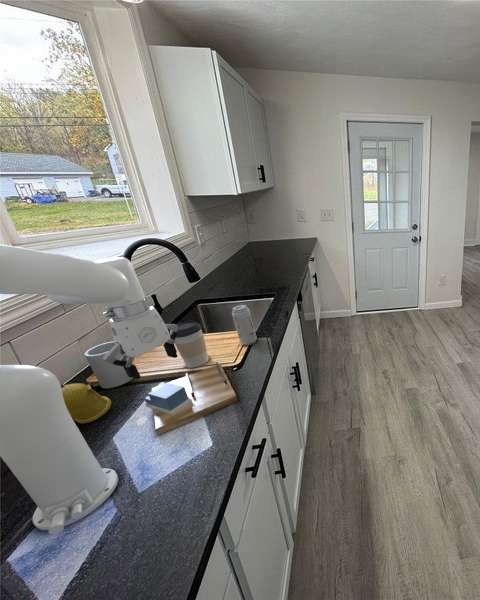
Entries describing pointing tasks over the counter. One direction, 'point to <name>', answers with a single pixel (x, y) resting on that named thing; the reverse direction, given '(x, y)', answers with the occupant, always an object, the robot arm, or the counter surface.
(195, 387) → the wooden base
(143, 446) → the counter surface
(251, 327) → the energy drink can
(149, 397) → the blue and white block
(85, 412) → the yellow rounded dome part
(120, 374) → the cup
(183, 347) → the coffee cup
